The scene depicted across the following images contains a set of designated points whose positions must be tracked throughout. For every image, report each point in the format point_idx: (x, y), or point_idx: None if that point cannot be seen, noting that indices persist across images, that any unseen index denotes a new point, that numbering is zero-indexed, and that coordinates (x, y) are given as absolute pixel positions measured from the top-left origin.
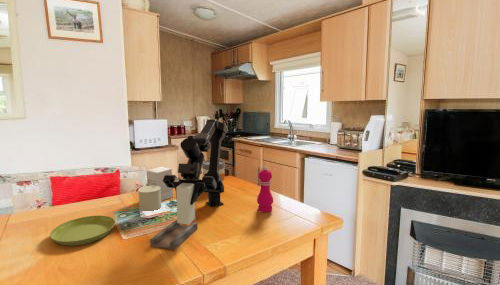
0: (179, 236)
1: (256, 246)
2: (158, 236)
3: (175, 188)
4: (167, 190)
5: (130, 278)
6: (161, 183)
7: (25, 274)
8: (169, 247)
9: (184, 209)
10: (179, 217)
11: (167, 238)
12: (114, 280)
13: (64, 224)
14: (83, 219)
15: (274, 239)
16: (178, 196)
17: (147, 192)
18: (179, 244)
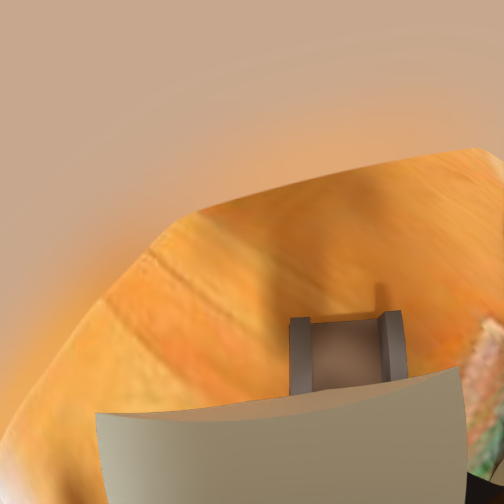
0: (299, 377)
1: (49, 399)
2: (388, 341)
3: (491, 487)
4: None
5: (315, 183)
6: None
7: (480, 159)
8: (313, 327)
9: (272, 400)
10: (315, 392)
11: (365, 381)
12: (342, 171)
13: None
14: None
15: (26, 434)
16: (351, 390)
17: None
18: (289, 362)
